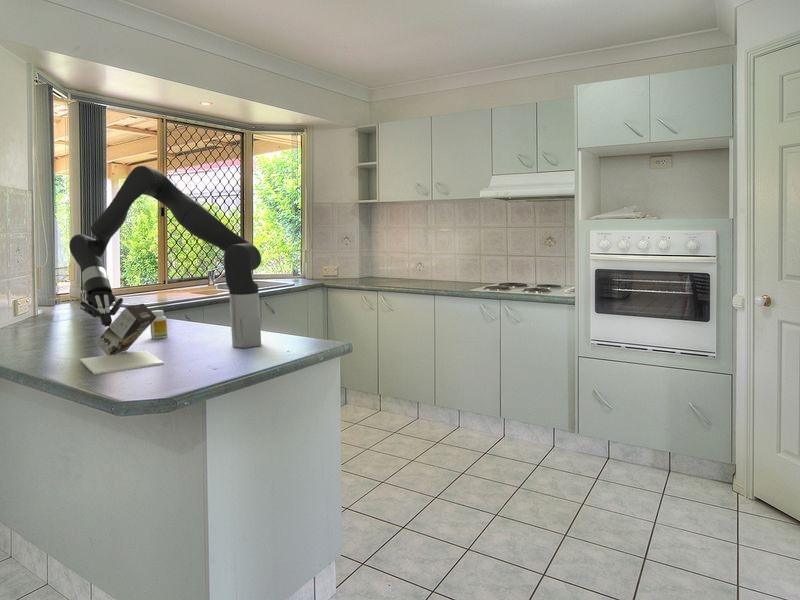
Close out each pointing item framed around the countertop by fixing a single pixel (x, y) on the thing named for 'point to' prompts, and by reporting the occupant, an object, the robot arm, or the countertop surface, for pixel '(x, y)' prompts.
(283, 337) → the countertop surface
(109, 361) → the cream board
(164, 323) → the supplement bottle
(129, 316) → the coffee box
